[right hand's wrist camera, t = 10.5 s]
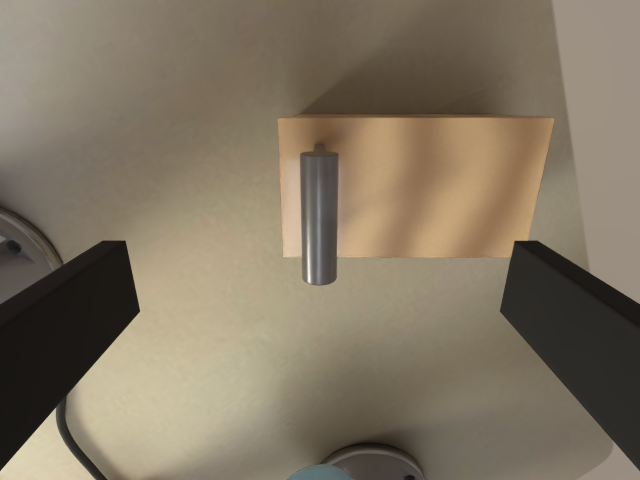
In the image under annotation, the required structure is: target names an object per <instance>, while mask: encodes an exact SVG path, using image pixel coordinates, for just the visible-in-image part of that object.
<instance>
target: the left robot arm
mask: <svg viewBox="0 0 640 480" xmlns="http://www.w3.org/2000/svg"><path fill="white" fill-rule="evenodd" d="M287 480H424V476H423V473H422V470H421V468H420V466H419V465H418V463H417V462H416V461H415V460H414V459H413V458H412V457H411V456H409V455H408V454H407V453H405V452H403V451H401V450H399V449H396V448H393V447H390V446H385V445H379V444H363V445H356V446H351V447H347V448H345V449H342V450H340V451H337V452H335V453H334V454H332V455H330V456H329V457H328V458H326V459H325V460H324V461H323V462H322V463H321V464H318V465H312V466H309V467H306V468H303V469H301V470H299V471H297V472H295V473H294V474H292V475H291V476H289V478H288V479H287Z"/></svg>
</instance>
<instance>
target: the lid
mask: <svg viewBox="0 0 640 480" xmlns="http://www.w3.org/2000/svg"><path fill="white" fill-rule="evenodd" d="M554 121H555V118H554V117H278V139H279V164H280V189H281V215H282V240H283V257H302V278H303V280H304V281H305V282H306V283H308V284H312V285H327V284H330V283H333V282H334V281H335V280H336V278H337V257H505V258H511V255H512V251H513V246H514V241H528V238H529V234H530V229H531V225H532V220H533V216H534V211H535V207H536V202H537V197H538V193H539V188H540V184H541V179H542V175H543V170H544V166H545V161H546V157H547V152H548V148H549V143H550V139H551V134H552V130H553V125H554Z"/></svg>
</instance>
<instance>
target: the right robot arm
mask: <svg viewBox="0 0 640 480" xmlns="http://www.w3.org/2000/svg"><path fill="white" fill-rule="evenodd" d="M139 312H140V309H139V304H138V299H137V294H136V289H135V284H134V280H133V275H132V270H131V265H130V260H129V255H128V251H127V246H126V241H101V242H100V243H98V244H97V245H95V246H93V247H92V248H90V249H89V250H87V251H85V252H84V253H82V254H80V255H79V256H77V257H76V258H74V259H72V260H71V261H69V262H68V263H66V264H64V265H63V266H62V263H61V261H60V259H59V257H58V255H57V253H56V252H55V250H54V249H53V247H52V246H51V244H50V243H49V242H48V241H47V240H46V238H45V237H44V236H43V235H42V234H41V233H40V232H39V231H38V230H37V229H35V228H34V227H33V226H32V225H31V224H29V223H28V222H27V221H25V220H24V219H22V218H21V217H19V216H17V215H15V214H14V213H12V212H10V211H8V210H5V209H3V208H0V471H1V469H2V468H3V467H4V466H5V465H6V464H7V463H8V461H9V460H10V459H11V458H12V457H13V456H14V455H15V453H16V452H17V451H18V450H19V449H20V448H21V447H22V445H23V444H24V443H25V442H26V441H27V440H28V439H29V438H30V436H31V435H32V434H33V433H34V432H35V431H36V430H37V428H38V427H39V426H40V425H41V424H42V423H43V422H44V420H45V419H46V418H47V417H48V416H49V415H50V414H51V412H52V411H53V410H54V409H55V408H56V421H57V426H58V429H59V432H60V434H61V436H62V438H63V440H64V442H65V444H66V445H67V447H68V448H69V449H70V451H71V452H72V453H73V455H74V456H75V457H76V458H77V459H78V460H79V461H80V463H81V464H82V465H83V466H84V467H85V468H86V469H87V470H88V471H89V473H90V474H91V475H92V476H93V477H94V478H95V479H96V480H107V479H106V478H105V476H104V475H103V474H102V473H101V472H100V471H99V470H98V468H97V467H96V466H95V465H94V464H93V463H92V462H91V460H90V459H89V458H88V457H87V456H86V455H85V454H84V453H83V451H82V450H81V449H80V448H79V446H78V445H77V444H76V442H75V441H74V439H73V437H72V436H71V434H70V432H69V430H68V427H67V424H66V420H65V403H66V395H67V394H68V393H69V392H70V391H71V390H72V388H73V387H74V386H75V385H76V384H77V383H78V382H79V380H80V379H81V378H82V377H83V376H84V375H85V374H86V372H87V371H88V370H89V369H90V368H91V367H92V366H93V364H94V363H95V362H96V361H97V360H98V359H99V358H100V357H101V355H102V354H103V353H104V352H105V351H106V350H107V349H108V347H109V346H110V345H111V344H112V343H113V342H114V341H115V339H116V338H117V337H118V336H119V335H120V334H121V333H122V331H123V330H124V329H125V328H126V327H127V326H128V325H129V323H130V322H131V321H132V320H133V319H134V318H135V317H136V315H137V314H138V313H139ZM500 312H501V313H502V314H503V315H504V317H505V318H506V319H507V320H508V321H509V322H510V323H511V325H512V326H513V327H514V328H515V329H516V330H517V331H518V333H519V334H520V335H521V336H522V337H523V338H524V339H525V341H526V342H527V343H528V344H529V345H530V346H531V347H532V349H533V350H534V351H535V352H536V353H537V354H538V355H539V357H540V358H541V359H542V360H543V361H544V362H545V363H546V365H547V366H548V367H549V368H550V369H551V370H552V371H553V372H554V374H555V375H556V376H557V377H558V378H559V379H560V380H561V382H562V383H563V384H564V385H565V386H566V387H567V388H568V390H569V391H570V392H571V393H572V394H573V395H574V396H575V398H576V399H577V400H578V401H579V402H580V403H581V404H582V406H583V407H584V408H585V409H586V410H587V411H588V412H589V414H590V415H591V416H592V417H593V418H594V419H595V420H596V422H597V423H598V424H599V425H600V426H601V427H602V428H603V430H604V431H605V432H606V433H607V434H608V435H609V436H610V438H611V439H612V440H613V441H614V442H615V443H616V444H617V445H618V447H619V448H620V449H621V450H622V451H623V452H624V453H625V455H626V456H627V457H628V458H629V459H630V460H631V461H632V463H633V464H634V465H635V466H636V467H637V468H638V469H639V471H640V304H639V303H637V302H635V301H634V300H632V299H631V298H629V297H627V296H626V295H624V294H622V293H621V292H619V291H618V290H616V289H614V288H613V287H611V286H610V285H608V284H606V283H605V282H603V281H601V280H600V279H598V278H597V277H595V276H593V275H592V274H590V273H589V272H587V271H585V270H584V269H582V268H581V267H579V266H577V265H576V264H574V263H572V262H571V261H569V260H568V259H566V258H564V257H563V256H561V255H560V254H558V253H556V252H555V251H553V250H551V249H550V248H548V247H547V246H545V245H543V244H542V243H540V242H539V241H514V246H513V251H512V255H511V260H510V265H509V270H508V275H507V280H506V284H505V289H504V294H503V299H502V304H501V309H500Z"/></svg>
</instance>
